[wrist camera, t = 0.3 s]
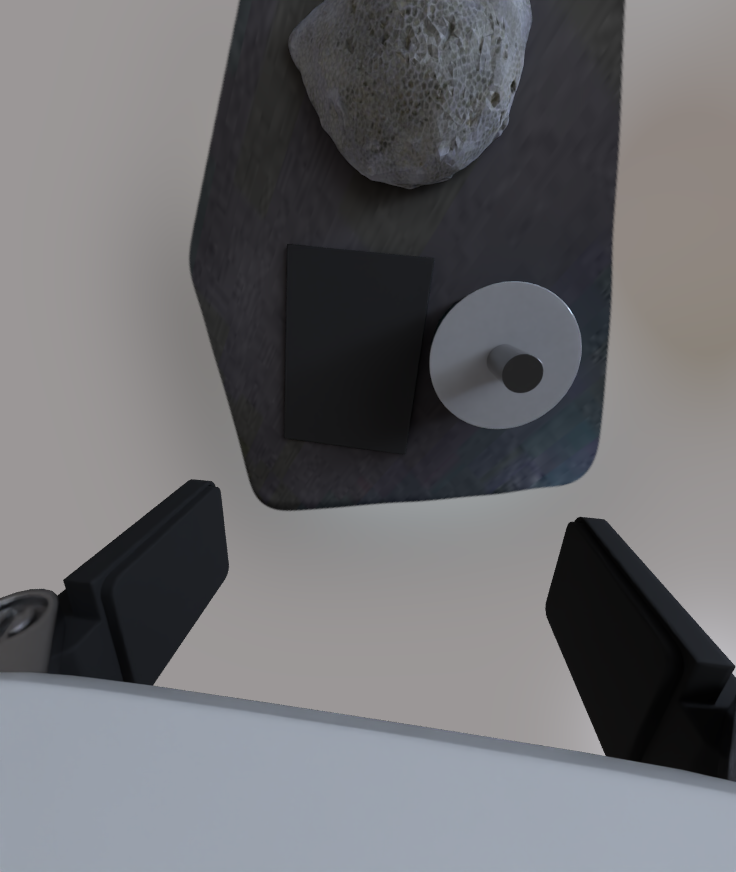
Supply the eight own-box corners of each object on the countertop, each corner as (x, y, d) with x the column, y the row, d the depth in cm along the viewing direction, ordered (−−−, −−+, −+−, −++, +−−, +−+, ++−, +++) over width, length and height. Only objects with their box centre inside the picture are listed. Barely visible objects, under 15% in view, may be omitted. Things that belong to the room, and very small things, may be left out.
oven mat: (289, 244, 35) (287, 243, 35) (434, 259, 34) (434, 258, 34) (285, 436, 42) (284, 438, 42) (405, 452, 41) (405, 454, 41)
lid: (503, 247, 27) (530, 232, 21) (607, 350, 29) (661, 364, 23) (400, 365, 31) (397, 382, 25) (497, 449, 33) (516, 485, 27)
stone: (513, -197, 22) (591, 50, 22) (491, -44, 29) (550, 137, 30) (257, -30, 25) (332, 180, 26) (297, 68, 33) (354, 229, 33)
